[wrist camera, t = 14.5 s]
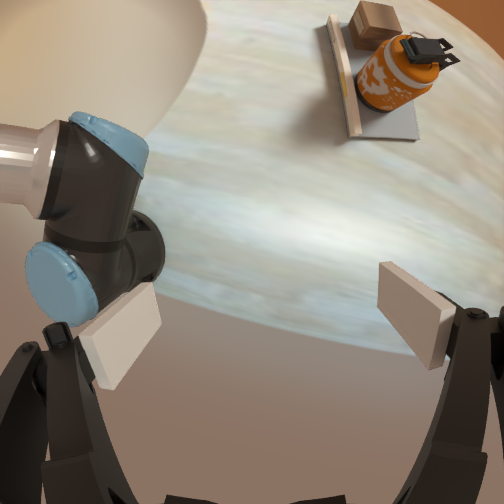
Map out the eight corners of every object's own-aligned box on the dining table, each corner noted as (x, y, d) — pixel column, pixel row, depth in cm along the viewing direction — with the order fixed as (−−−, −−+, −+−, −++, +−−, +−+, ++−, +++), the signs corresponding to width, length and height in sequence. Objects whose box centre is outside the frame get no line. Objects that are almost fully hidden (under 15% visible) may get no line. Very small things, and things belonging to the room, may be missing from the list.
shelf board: (347, 137, 42) (353, 133, 38) (325, 24, 36) (328, 14, 32) (416, 140, 40) (427, 137, 37) (391, 32, 35) (398, 24, 31)
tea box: (354, 49, 36) (368, 25, 28) (347, 25, 35) (359, 0, 26) (383, 52, 36) (402, 32, 27) (376, 28, 34) (392, 6, 26)
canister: (345, 72, 38) (386, 13, 18) (396, 66, 36) (450, 20, 17) (363, 117, 39) (421, 78, 20) (414, 109, 38) (481, 78, 19)
